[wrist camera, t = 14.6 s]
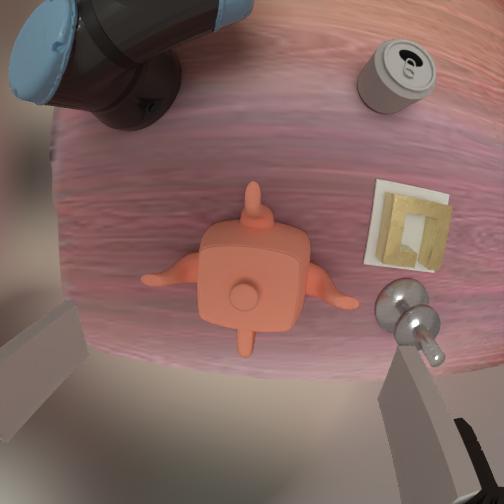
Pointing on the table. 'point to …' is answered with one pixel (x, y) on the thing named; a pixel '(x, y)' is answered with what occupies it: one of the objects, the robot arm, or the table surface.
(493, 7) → the table surface
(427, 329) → the stand
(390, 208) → the link
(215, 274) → the pot
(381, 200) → the mat
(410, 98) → the can
